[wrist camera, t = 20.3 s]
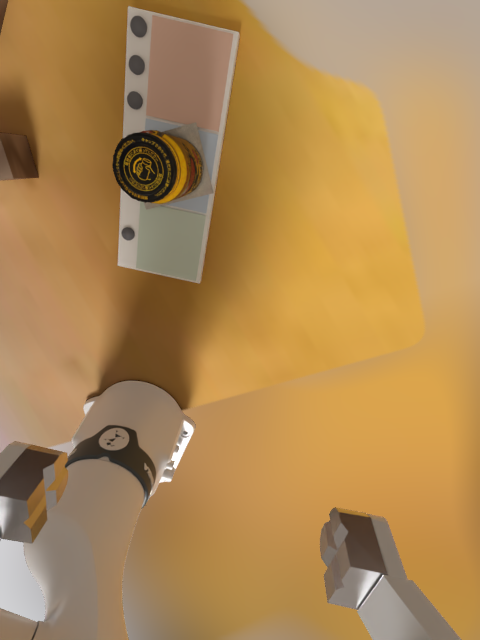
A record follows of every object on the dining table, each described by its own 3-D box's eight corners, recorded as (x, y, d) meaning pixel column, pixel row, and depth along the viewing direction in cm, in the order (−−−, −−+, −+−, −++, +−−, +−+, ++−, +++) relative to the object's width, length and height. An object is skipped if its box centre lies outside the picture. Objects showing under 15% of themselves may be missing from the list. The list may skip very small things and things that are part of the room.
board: (201, 280, 44) (199, 284, 43) (121, 263, 44) (116, 266, 43) (239, 36, 33) (238, 31, 31) (132, 11, 33) (126, 4, 31)
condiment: (213, 193, 38) (193, 203, 27) (146, 209, 39) (101, 225, 28) (196, 122, 35) (166, 102, 24) (124, 142, 36) (65, 132, 26)
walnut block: (39, 177, 40) (13, 178, 36) (5, 180, 41) (-24, 181, 36) (26, 135, 38) (-2, 132, 34) (-9, 139, 39) (-41, 135, 35)
